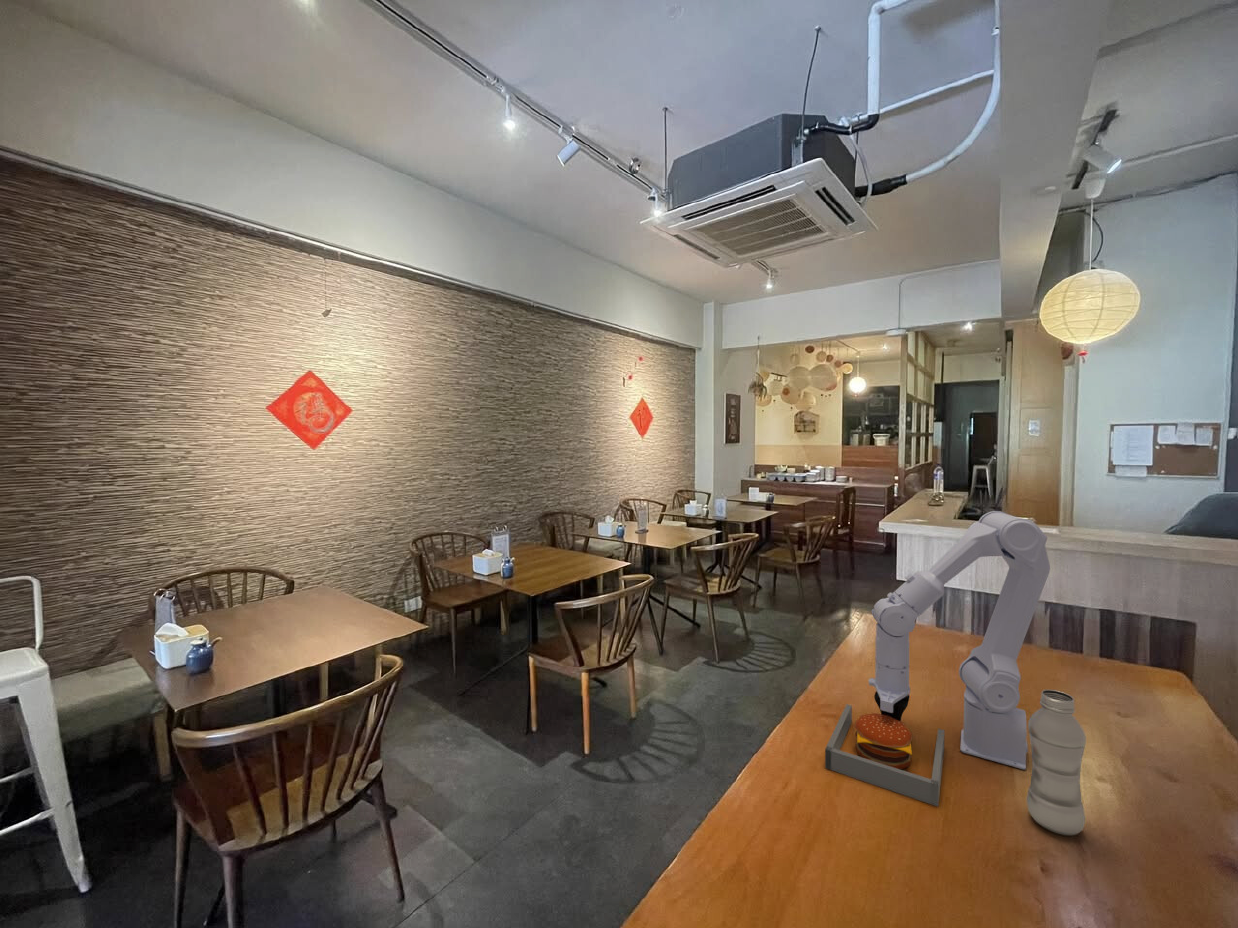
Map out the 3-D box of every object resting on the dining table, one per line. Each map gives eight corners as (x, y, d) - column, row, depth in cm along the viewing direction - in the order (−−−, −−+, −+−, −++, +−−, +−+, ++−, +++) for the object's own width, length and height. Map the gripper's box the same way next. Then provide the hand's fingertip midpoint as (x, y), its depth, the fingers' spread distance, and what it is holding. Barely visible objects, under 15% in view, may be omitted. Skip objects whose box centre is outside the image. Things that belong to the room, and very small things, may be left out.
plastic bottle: (1096, 845, 72) (1100, 708, 71) (1041, 839, 73) (1045, 704, 72) (1066, 812, 78) (1069, 686, 77) (1016, 807, 80) (1019, 683, 79)
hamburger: (853, 735, 100) (853, 702, 99) (909, 746, 96) (910, 712, 95) (854, 763, 91) (854, 727, 91) (915, 777, 87) (916, 740, 87)
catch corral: (944, 748, 95) (944, 730, 95) (938, 806, 80) (938, 785, 80) (846, 720, 105) (846, 703, 104) (825, 767, 90) (825, 748, 90)
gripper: (875, 644, 106) (874, 708, 106) (862, 671, 94) (862, 743, 94) (914, 652, 101) (913, 718, 102) (905, 681, 90) (905, 756, 90)
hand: (891, 731), depth 98 cm, fingers closed
